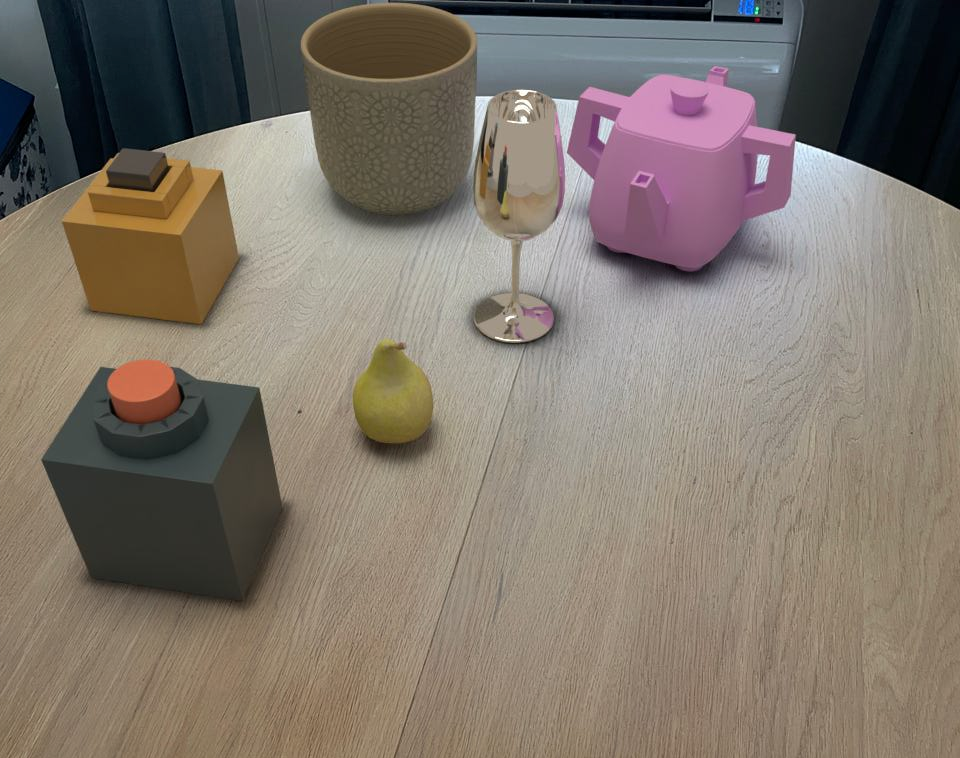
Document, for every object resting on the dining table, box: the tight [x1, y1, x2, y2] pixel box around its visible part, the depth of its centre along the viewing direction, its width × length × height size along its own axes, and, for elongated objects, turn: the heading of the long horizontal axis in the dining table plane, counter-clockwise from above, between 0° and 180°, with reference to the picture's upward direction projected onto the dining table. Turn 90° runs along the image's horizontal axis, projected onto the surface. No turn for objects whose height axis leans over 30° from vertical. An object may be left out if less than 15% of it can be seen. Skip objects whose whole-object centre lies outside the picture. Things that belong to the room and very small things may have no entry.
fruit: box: [352, 338, 435, 444], centre depth 86 cm, size 7×8×12 cm
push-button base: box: [61, 152, 240, 325], centre depth 100 cm, size 11×11×11 cm
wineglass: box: [472, 89, 566, 344], centre depth 93 cm, size 8×8×20 cm
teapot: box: [566, 65, 797, 272], centre depth 104 cm, size 19×18×15 cm
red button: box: [107, 359, 181, 425], centre depth 72 cm, size 4×4×2 cm
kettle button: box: [106, 147, 169, 192], centre depth 95 cm, size 4×4×2 cm
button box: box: [40, 366, 283, 602], centre depth 78 cm, size 12×10×14 cm
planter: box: [300, 2, 478, 216], centre depth 109 cm, size 17×17×15 cm
